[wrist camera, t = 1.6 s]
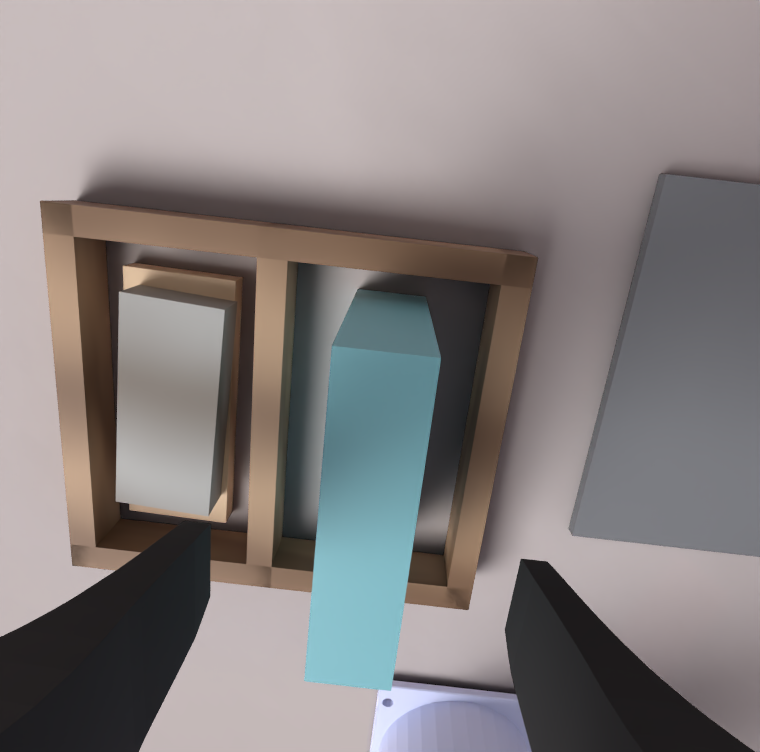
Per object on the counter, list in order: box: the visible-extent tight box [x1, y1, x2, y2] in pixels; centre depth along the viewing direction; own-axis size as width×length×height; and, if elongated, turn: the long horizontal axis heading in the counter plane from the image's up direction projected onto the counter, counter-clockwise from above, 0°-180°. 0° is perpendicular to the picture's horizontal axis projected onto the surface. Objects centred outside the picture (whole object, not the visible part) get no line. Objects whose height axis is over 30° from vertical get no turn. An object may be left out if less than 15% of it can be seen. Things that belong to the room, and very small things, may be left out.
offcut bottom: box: [123, 263, 243, 523], centre depth 21 cm, size 10×4×2 cm, turn 173°
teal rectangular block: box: [304, 289, 441, 691], centre depth 18 cm, size 10×2×8 cm, turn 174°
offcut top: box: [116, 285, 237, 516], centre depth 20 cm, size 8×4×2 cm, turn 170°
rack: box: [40, 200, 538, 610], centre depth 20 cm, size 14×16×2 cm
